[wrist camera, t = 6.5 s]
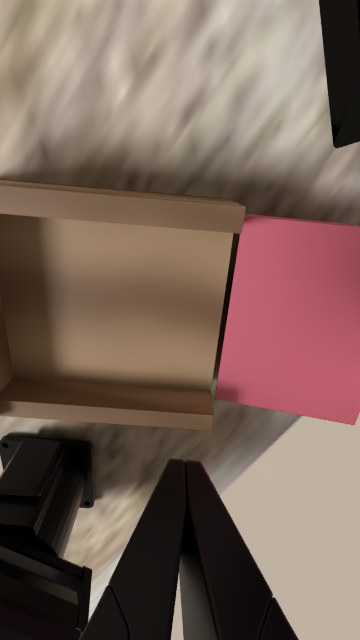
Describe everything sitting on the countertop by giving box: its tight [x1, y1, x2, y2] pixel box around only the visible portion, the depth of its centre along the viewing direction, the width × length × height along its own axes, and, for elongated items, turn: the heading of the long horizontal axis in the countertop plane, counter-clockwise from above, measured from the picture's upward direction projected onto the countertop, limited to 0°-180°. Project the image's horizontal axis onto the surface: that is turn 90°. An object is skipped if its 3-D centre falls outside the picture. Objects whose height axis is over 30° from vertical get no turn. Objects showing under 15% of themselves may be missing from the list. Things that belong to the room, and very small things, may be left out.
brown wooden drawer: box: [0, 180, 246, 431], centre depth 16 cm, size 11×12×6 cm
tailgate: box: [215, 214, 360, 425], centre depth 16 cm, size 10×2×8 cm
